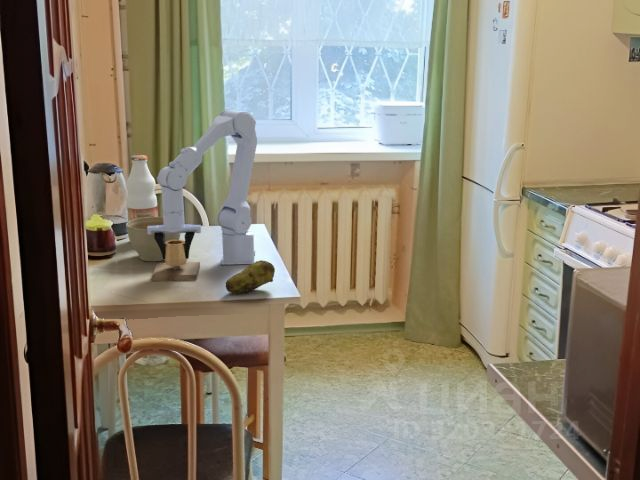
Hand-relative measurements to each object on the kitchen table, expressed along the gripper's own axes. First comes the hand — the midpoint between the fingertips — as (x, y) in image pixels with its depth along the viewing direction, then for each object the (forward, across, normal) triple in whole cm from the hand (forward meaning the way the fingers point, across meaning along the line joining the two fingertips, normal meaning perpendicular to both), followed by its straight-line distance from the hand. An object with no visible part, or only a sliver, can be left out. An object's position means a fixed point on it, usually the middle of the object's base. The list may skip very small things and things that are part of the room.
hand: (175, 258), depth 220 cm
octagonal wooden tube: (+1, 0, 0) cm, 1 cm away
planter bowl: (+5, -8, +17) cm, 19 cm away
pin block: (+4, 0, 0) cm, 4 cm away
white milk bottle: (+5, -14, +35) cm, 38 cm away
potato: (+5, +21, -17) cm, 27 cm away
